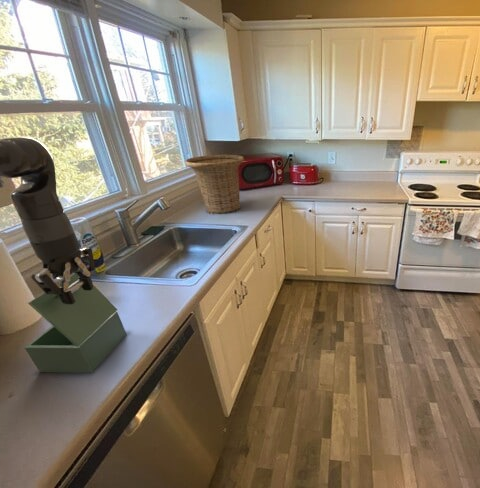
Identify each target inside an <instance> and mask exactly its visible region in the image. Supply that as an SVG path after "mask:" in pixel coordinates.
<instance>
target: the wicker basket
mask: <svg viewBox="0 0 480 488" xmlns="http://www.w3.org/2000/svg"><path fill="white" fill-rule="evenodd" d="M244 162H245V159H244V156H242V155H238V154H210V155H200V156H194V157H190V158H187V159H185V160H184V164H185V166H186V167H189V168H191V169H192V170H193V171H194V174H195V177H196V181H197V183H198V186H199V190H200V193H201V196H202V200H203V202H204V203H203V204H204V206H205V209H206V211H207V213H208V214H212V215H213V214H215V215H219V214H221V215H224V214H225V213H226V214H230V213H234V212H236V211H237V212H238V210H240V208H241V199H240V198H241V197H240V178H239V167H240V165H241V164H243V163H244Z"/></svg>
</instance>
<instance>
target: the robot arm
mask: <svg viewBox="0 0 480 488" xmlns="http://www.w3.org/2000/svg"><path fill="white" fill-rule="evenodd" d="M0 178H3V179H17V178H20V184H19V186H18V187H16V188H14V189H13V190H12V191H11V192H10V194H9V198H10V201H11V203H12V205H13V207H14V209H15V212H16V213H17V215H18V217H19V219H20V222H21V226H22V229H23V231H24V233H25V235H26V237H27V240H28V242H29V244H30V245H31V248H32V249H33V252H34V254H35V256H36V257H37V258H38V259H39V260H40V261H41V262H42V270H40V271H39V272H38V273H32V274H31V277H30V278H31V279H32V281H34V282H35V284H36V285H37V286H38V287H39V288H40V289H41V290H42V291H43V293H44V292H45V293H46V294H58V295H59V297H60V299H61V301H62V303H63V304H74V303H75V299H74V297H73V295H72V293H71V290H69V284H68V282H69V281H70V276H71V275H72V274H74V273H75V274H76V275H77V276H80V277H79V278H78V279H82V280H84V281H85V285H83V286H82V288H83V290H92V289H93V284H94V283H93V280H92V278H91V273H92V272H94V271H95V270H96V266H95V265H96V264H95V259H94V253H93V249H92V248H91V247H81V245H80V241H79V240H78V237H77V235H76V232H75V231H74V227H73V225H72V222H71V220H70V219H69V217H68V215H67V214H66V212H65V210H64V207H63V205H62V202H61V200H60V198H59V196H58V194H57V177H56V168H55V162H54V159H53V156H52V154H51V152H50V151H49V149H48V148H47V146H45V145H44V144H43V143H42V142H40V141H39V140H37V139H35V138H32V137H28V136H15V137H7V138H0ZM60 282H61V283H62V287H60Z"/></svg>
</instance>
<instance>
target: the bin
mask: <svg viewBox="0 0 480 488" xmlns="http://www.w3.org/2000/svg"><path fill="white" fill-rule="evenodd" d="M126 335H127V331H126V329H125V327H124V325H123V322H122V320H121V317H120V315H119V313H118V311H116V312H115V313H114V314H113V315H112V316H111V317H109V318H108V319H107V320H106V321H105V322H104V323H103V324H102V325H101V326H100V327H99V328H98V329H97V330H96V331H95V332H94V333H92V334H91V335H90V336H89V337H88V338H87V339H86V340H85V341H84V342H83V343H82V344H81V345H80V346H78V347H76V346H75V345H74V344H73V343H72V342H71V341H70V340H68V339H67V338H66V337H65V336H64V335H63V334H62V333H61V332H59V331H58V330H57V329H56V328H55V327H54V326H53V325H51V326H50V327H49V328H47V329H46V330H45V331H44V332H42V333H41V334H39V335H38V336H37V337H36V338H35V339H33V340H32V341H31V342H30V343H28V344H27V345H25V346H23V348H24V350H25V352H26V354H28V356H29V358H30V359H31V360H32V362H33V363H34V365H35V367H36V368H37V370H38V371H39V373H93V372H94V370H96V369H97V368H98V367H99V365H100V364H101V363H102V362H103V361H104V360H105V359H106V358H107V357H108V355H109V354H110V353H111V352H112V351H113V350H114V349H115V348H116V346H117V345H118V344H119V343H121V341H122V340H123V339H124V337H126Z"/></svg>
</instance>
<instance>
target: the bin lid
mask: <svg viewBox="0 0 480 488" xmlns="http://www.w3.org/2000/svg"><path fill="white" fill-rule="evenodd" d="M79 277H80V276H77V275H76V274H75V273H74V272H73V273H71V274H70V281H69V282H68V284H69V290H71V293H72V295H73V297H74V299H75V303H74V304H63V303H62V301H61V299H60V297H59V295H58V294H46V293H45V292H44V291H43V292H42V293H41V294H39V295H38V296H36V297H34V298H33V299H32V300H30V301H28V302H27V305H29V306H30V307H31V308H32V309H33V310H35V311H36V312H37V313H38V314H39V315H40V316H41V317H42V318H44V319H45V320H46V321H47V322H48V323H49V324H50V325H51V326H54V327H55V328H56V329H57V330H58V331H59V332H61V333H62V334H63V335H64V336H65V337H66V338H67V339H68V340H70V341H71V342H72V343H73V344H74V345H75V346H76V347H78V346H80V345H81V344H82V343H83V342H84V341H85V340H86V339H87V338H88V337H89V336H90V335H91V334H92V333H94V332H95V331H96V330H97V329H98V328H99V327H100V326H101V325H102V324H103V323H104V322H105V321H106V320H107V319H108V318H109V317H111V316H112V315H113V314H114V313H115V312H118V308H117V307H116V306H115V305H113V303H112V302H111V301H110V300H109V299H108V298H107V297H106V296H105V294H103V293H102V291H100V289H99V288H98V287H97V286H96V285H95V284H94V285H95V286H96V287H97V288H98V289H97V288H96V287H95V286H94V285H93V289H92V290H83V288H82V286H83V285H85V281H84V280H82V279H78V278H79ZM60 287H62V283H61V282H60Z"/></svg>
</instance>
